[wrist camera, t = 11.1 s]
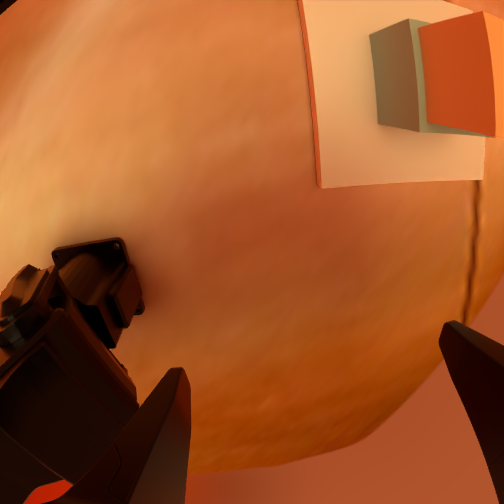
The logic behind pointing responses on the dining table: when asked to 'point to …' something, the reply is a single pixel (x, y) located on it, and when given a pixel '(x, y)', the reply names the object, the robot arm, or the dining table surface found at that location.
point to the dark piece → (5, 5)
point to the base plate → (372, 100)
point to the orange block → (465, 72)
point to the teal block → (403, 79)
